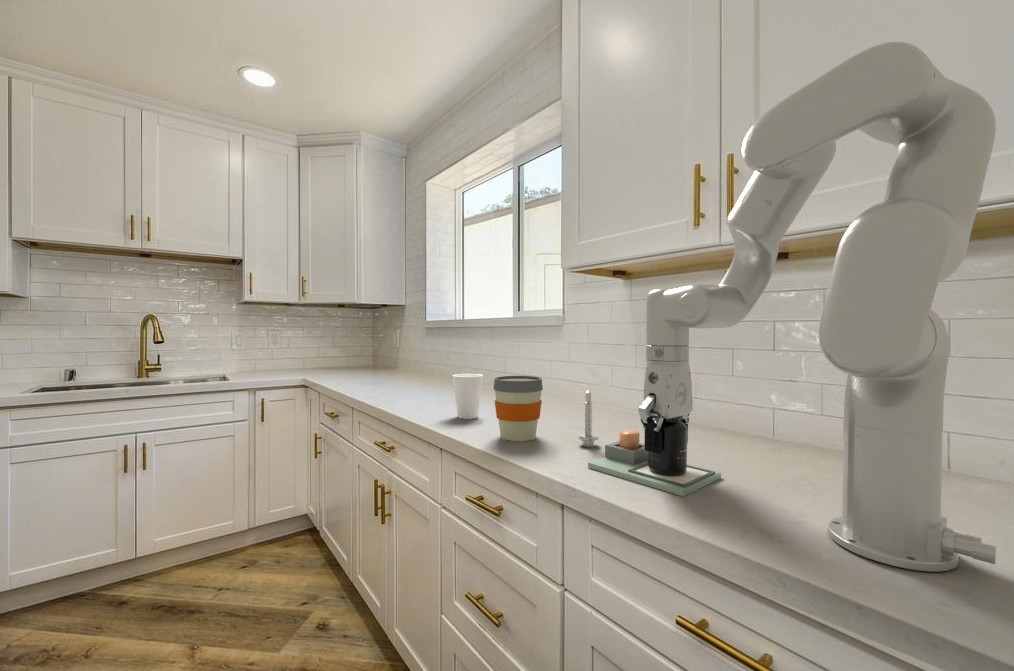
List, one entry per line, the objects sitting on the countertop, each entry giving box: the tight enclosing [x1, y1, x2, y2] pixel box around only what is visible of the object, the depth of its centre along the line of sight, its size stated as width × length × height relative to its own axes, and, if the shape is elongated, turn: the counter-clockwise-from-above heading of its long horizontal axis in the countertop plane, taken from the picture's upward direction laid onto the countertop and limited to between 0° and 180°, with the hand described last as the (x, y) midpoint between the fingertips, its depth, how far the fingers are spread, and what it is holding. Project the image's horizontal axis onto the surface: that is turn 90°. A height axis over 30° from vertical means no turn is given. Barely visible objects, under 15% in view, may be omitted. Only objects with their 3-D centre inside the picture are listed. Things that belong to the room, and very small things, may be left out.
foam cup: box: [452, 373, 484, 420], centre depth 139 cm, size 10×9×13 cm
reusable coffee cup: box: [493, 375, 544, 442], centre depth 114 cm, size 12×13×15 cm
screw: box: [577, 390, 599, 448], centre depth 105 cm, size 13×5×5 cm
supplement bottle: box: [648, 413, 688, 476], centre depth 83 cm, size 7×7×12 cm
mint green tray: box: [587, 440, 722, 497], centre depth 86 cm, size 20×14×4 cm
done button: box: [618, 429, 640, 450], centre depth 92 cm, size 4×4×4 cm
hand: (666, 447), depth 83 cm, fingers open, 8 cm apart
